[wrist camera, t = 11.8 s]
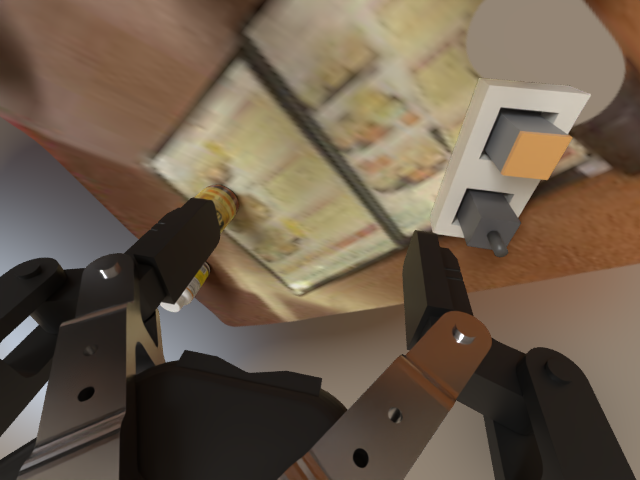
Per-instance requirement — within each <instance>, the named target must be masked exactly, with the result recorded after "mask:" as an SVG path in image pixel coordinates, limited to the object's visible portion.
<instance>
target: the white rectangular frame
mask: <svg viewBox="0 0 640 480" xmlns="http://www.w3.org/2000/svg"><path fill="white" fill-rule="evenodd" d="M590 96H591V94H589V93H587V92H584V91H582V90H579V89H577V88H574V87H572V86H568V85H556V84H544V83H533V82H522V81H510V80H499V79H488V78H479V80H478V82H477V85H476V88H475V91H474V94H473V96H472V99H471V102H470V105H469V108H468V111H467V113H466V116H465V119H464V122H463V125H462V127H461V130H460V133H459V136H458V139H457V141H456V144H455V147H454V150H453V153H452V156H451V158H450V161H449V164H448V167H447V170H446V172H445V175H444V178H443V181H442V184H441V187H440V189H439V192H438V195H437V198H436V201H435V203H434V206H433V209H432V212H431V215H430V221H431V226H432V231H433V233H436V234H441V235H448V236H454V237H461V238H465V241H466V244H467V246H471V247H477V248H484V249H491V250H493V251H494V254H495V256H497V257H503V256H506V255H507V254H508V250H507V248H506V247H507V245H508V244H509V242H510V240H511V239H512V237H513V235H514V234H515V232H516V230H517V229H518V227H519V226H520V224H521V222H520V220H519V219H518V217H519V216H520V214H521V212H522V210H523V209H524V207H525V205H526V204H527V202H528V200H529V199H530V197H531V195H532V194H533V192H534V190H535V189H536V187H537V185H538V184H539V182H540V180H541V179H532V178H523V177H513V176H504V175H502V174H501V172H500V171H499V170H498V168H497V167H496V165H495V164H494V163H493V161H492V160H491V158H490V157H489V155H488V154H487V153H486V151H485V150H484V146H485V144H486V141H487V139H488V136H489V134H490V132H491V129H492V127H493V125H494V122H495V120H496V117H497V115H498V113H499V110H500V109H505V110H517V111H529V112H536V113H537V114H539V115H540V116H542V117H543V118H545V119H546V120H548V121H549V122H551V123H552V124H553V125H555V126H556V127H558V128H559V129H561V130H562V131H564V132H565V133H567V134H568V133H569V131H570V130H571V128H572V126H573V125H574V123H575V121H576V120H577V118H578V116H579V114H580V113H581V111H582V109H583V108H584V106H585V104H586V103H587V101H588V99H589V98H590Z"/></svg>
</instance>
